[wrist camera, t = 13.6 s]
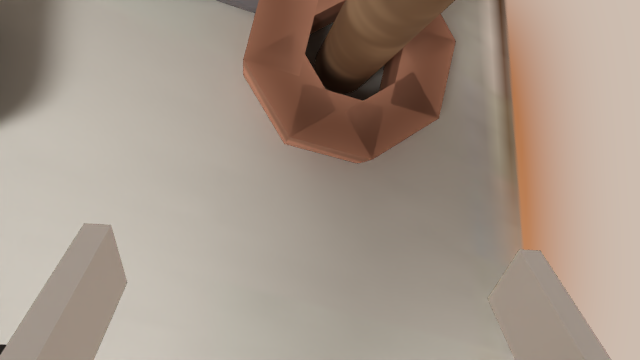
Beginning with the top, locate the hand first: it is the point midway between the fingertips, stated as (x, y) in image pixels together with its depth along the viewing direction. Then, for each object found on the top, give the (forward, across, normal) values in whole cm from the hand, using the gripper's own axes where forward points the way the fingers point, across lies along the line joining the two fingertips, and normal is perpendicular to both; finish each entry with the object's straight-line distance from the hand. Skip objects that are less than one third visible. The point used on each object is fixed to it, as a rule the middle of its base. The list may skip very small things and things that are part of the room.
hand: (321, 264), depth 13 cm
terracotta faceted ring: (+16, +2, +1) cm, 16 cm away
